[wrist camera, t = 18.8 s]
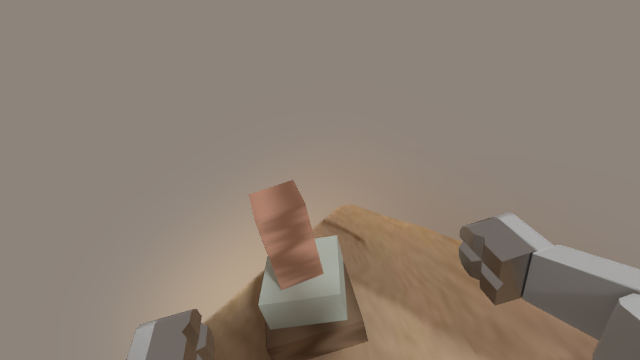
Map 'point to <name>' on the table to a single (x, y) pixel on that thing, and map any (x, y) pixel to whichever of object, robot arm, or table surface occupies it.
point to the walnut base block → (318, 334)
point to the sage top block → (307, 292)
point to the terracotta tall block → (286, 233)
